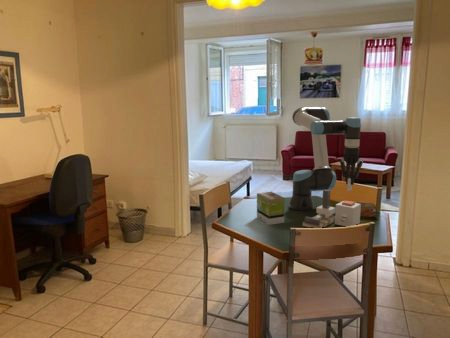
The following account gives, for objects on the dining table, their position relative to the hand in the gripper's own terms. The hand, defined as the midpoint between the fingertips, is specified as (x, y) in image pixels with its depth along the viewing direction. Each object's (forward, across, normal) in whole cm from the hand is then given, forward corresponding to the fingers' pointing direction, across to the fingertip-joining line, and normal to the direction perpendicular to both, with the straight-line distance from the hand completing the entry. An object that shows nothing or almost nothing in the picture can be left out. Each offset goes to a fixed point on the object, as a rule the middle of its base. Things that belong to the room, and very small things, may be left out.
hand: (349, 190), depth 209 cm
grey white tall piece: (+16, -12, -2) cm, 21 cm away
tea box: (+19, -36, -22) cm, 46 cm away
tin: (+19, +1, +20) cm, 28 cm away
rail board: (+19, -12, -7) cm, 24 cm away
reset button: (+10, 0, 0) cm, 10 cm away
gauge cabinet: (+19, 0, 0) cm, 19 cm away
